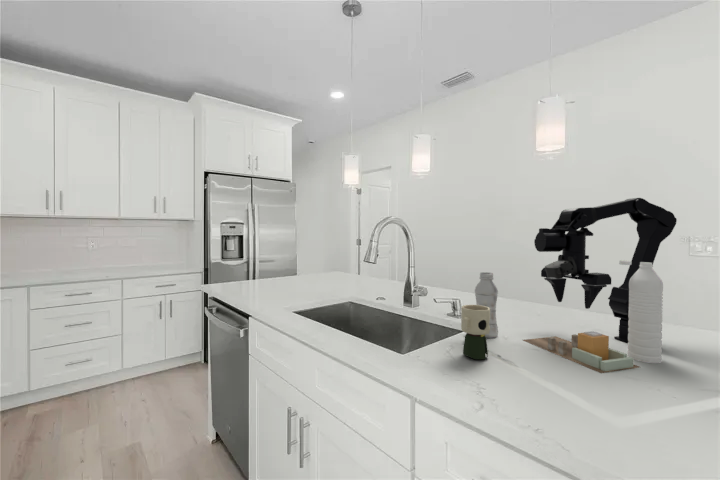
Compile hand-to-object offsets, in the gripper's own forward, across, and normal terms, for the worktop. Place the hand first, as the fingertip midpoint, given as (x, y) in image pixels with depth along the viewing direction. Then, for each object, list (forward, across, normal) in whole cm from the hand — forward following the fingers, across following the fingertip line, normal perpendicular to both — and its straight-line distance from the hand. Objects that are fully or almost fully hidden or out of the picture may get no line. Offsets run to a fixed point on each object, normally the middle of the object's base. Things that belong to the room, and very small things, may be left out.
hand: (572, 305), depth 100 cm
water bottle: (+11, +16, +3) cm, 20 cm away
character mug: (+11, +2, -34) cm, 36 cm away
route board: (+11, +9, -9) cm, 17 cm away
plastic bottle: (+11, -10, -22) cm, 27 cm away
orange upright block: (+10, +14, -9) cm, 19 cm away
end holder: (+10, +16, -9) cm, 21 cm away
